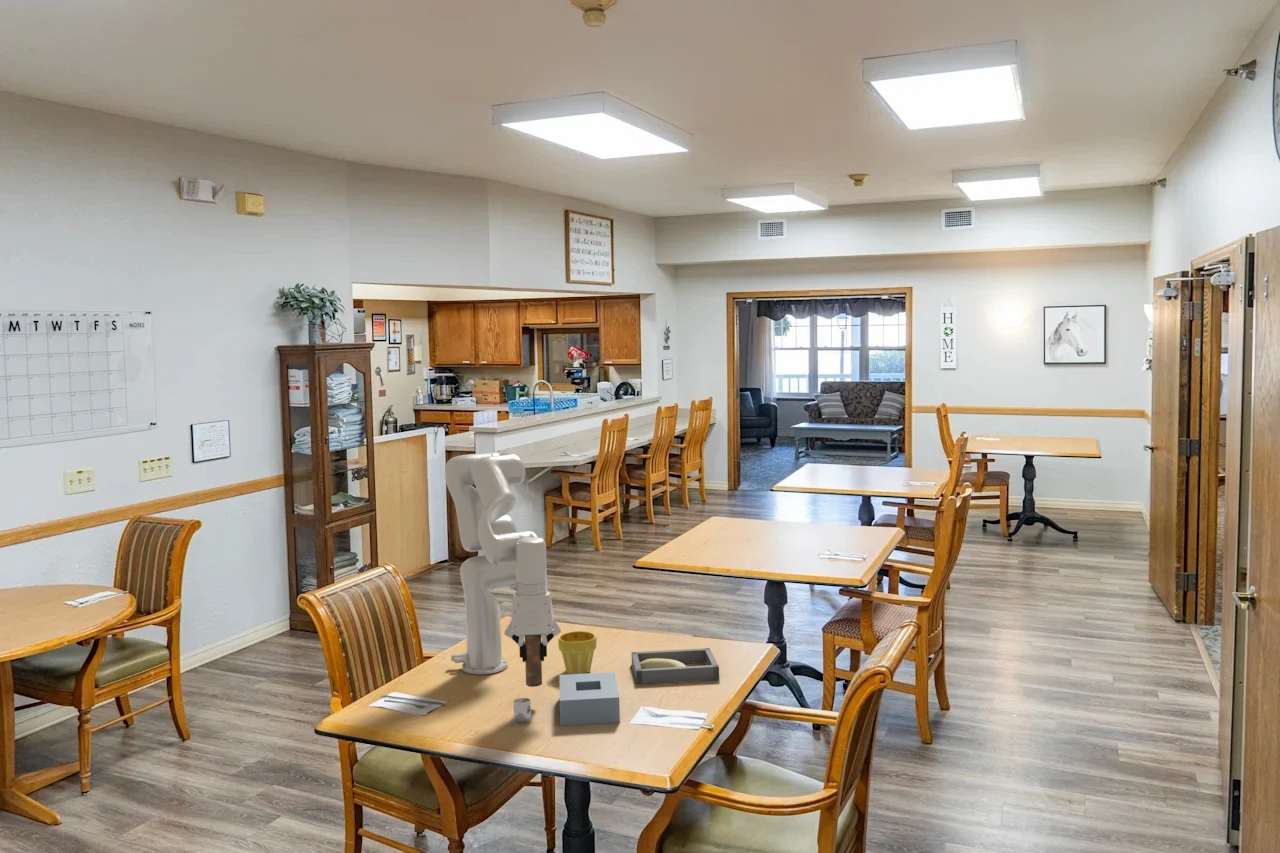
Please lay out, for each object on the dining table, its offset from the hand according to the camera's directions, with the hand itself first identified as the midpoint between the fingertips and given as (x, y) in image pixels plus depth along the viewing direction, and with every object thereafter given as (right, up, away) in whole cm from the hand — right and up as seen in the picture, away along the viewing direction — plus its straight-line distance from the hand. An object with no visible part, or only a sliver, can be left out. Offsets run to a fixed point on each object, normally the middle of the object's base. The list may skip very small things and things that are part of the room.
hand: (533, 659), depth 236 cm
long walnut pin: (0, -6, +1) cm, 6 cm away
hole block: (+14, -12, -4) cm, 18 cm away
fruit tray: (+36, -9, +22) cm, 43 cm away
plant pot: (+10, -10, +25) cm, 29 cm away
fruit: (+33, -10, +22) cm, 41 cm away
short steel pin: (-1, -13, -10) cm, 16 cm away
